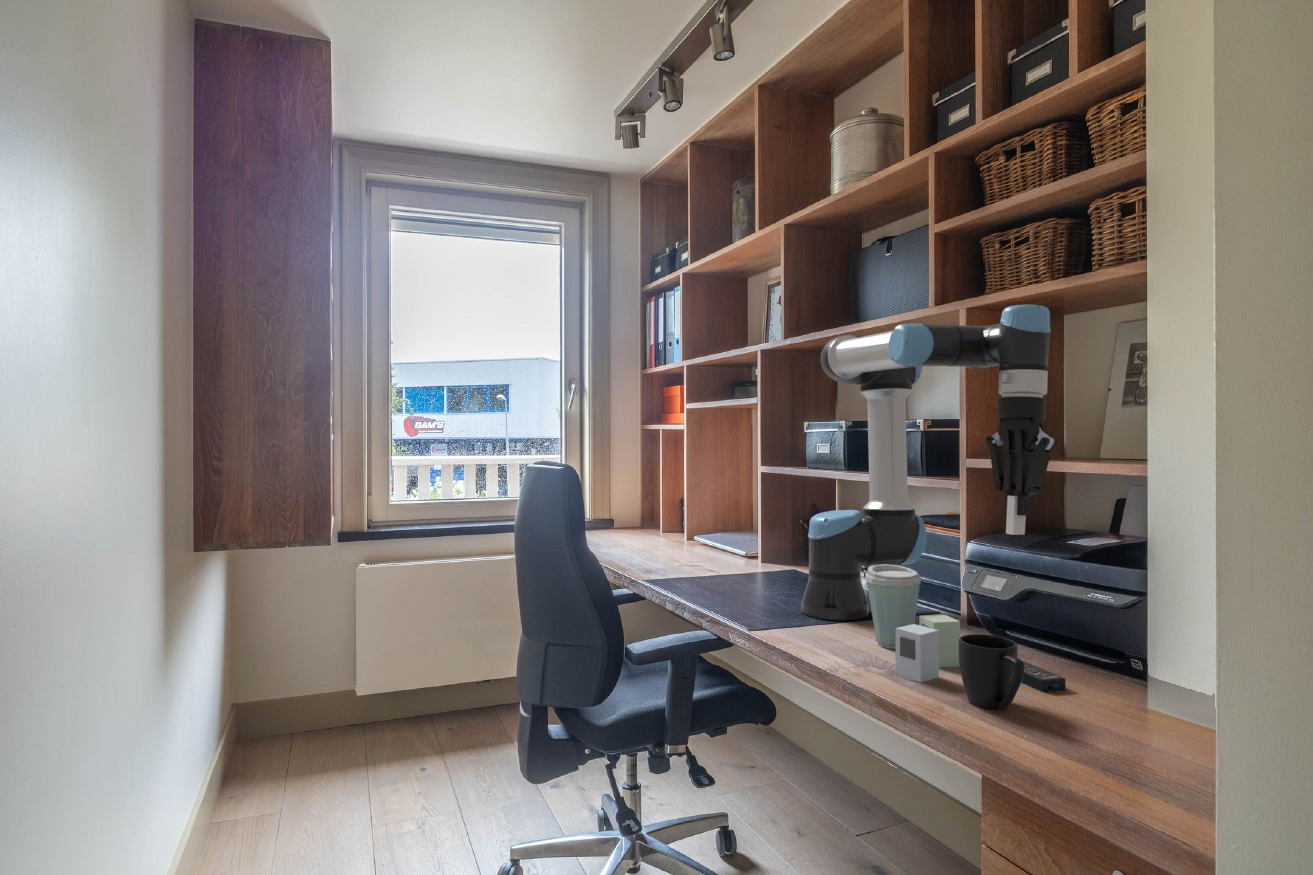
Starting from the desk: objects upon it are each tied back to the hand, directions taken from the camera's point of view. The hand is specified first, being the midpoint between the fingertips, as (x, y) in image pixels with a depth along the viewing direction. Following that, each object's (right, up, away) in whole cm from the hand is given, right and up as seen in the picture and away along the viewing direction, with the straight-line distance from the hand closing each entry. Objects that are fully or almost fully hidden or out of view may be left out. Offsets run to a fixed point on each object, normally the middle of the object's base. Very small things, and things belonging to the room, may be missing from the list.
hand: (1015, 533), depth 125 cm
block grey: (-17, -24, -1) cm, 30 cm away
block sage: (-10, -24, +7) cm, 27 cm away
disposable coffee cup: (-15, -24, +18) cm, 34 cm away
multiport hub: (+1, -25, -3) cm, 25 cm away
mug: (-11, -24, -15) cm, 31 cm away
